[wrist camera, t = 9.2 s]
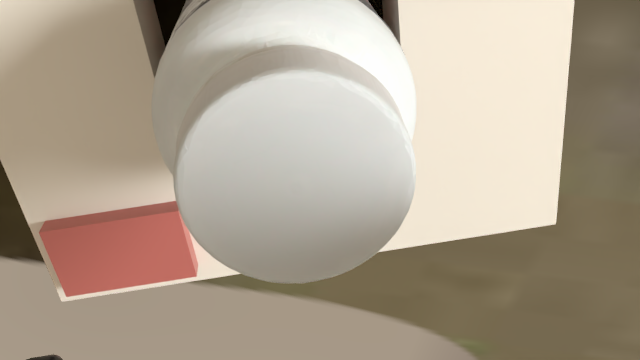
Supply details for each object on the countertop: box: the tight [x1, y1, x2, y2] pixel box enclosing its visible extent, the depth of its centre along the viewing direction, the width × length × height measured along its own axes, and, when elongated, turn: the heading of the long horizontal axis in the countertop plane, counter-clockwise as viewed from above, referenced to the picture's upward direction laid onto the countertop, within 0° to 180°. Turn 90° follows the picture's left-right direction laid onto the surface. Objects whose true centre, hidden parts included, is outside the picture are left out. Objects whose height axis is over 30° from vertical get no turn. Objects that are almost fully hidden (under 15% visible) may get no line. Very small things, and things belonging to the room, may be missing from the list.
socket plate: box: [0, 0, 574, 301], centre depth 17 cm, size 14×16×3 cm
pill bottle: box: [151, 0, 416, 283], centre depth 14 cm, size 5×5×10 cm
